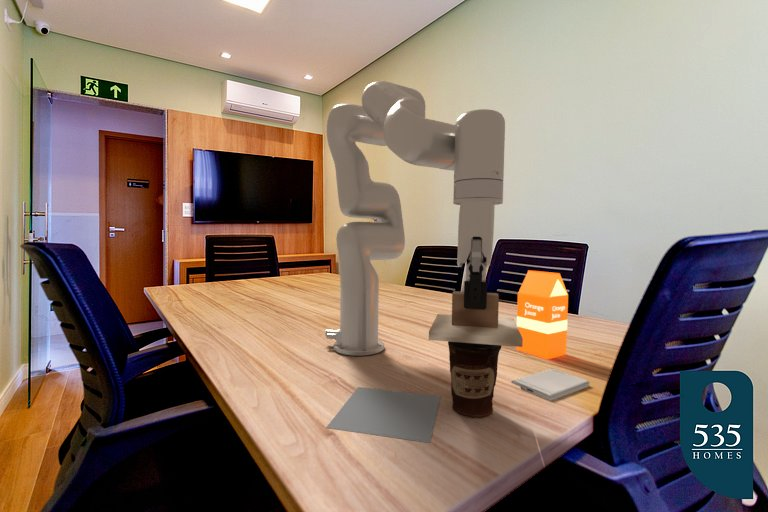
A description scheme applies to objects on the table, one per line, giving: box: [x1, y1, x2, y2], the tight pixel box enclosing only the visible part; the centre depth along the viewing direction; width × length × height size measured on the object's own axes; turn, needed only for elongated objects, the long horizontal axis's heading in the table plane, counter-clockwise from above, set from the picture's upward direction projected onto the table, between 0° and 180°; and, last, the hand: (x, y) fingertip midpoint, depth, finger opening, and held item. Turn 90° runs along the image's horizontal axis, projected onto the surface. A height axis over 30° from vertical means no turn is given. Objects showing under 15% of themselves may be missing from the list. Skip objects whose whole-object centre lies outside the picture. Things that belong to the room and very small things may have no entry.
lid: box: [428, 290, 523, 348], centre depth 59 cm, size 13×13×6 cm
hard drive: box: [510, 368, 590, 402], centre depth 70 cm, size 2×8×12 cm
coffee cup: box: [447, 341, 502, 420], centre depth 59 cm, size 9×8×13 cm
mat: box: [325, 386, 441, 444], centre depth 59 cm, size 15×15×1 cm
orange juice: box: [515, 269, 569, 360], centre depth 91 cm, size 8×9×20 cm
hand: (475, 302), depth 58 cm, fingers open, 9 cm apart
